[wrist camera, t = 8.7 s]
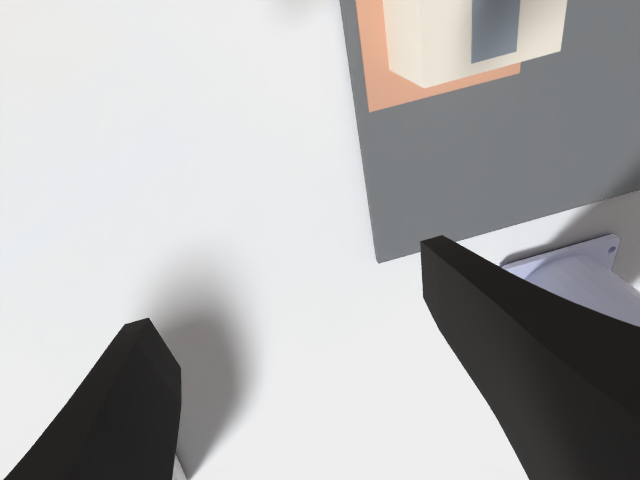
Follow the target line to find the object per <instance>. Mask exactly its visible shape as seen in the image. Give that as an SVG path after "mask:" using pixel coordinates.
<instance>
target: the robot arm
mask: <svg viewBox="0 0 640 480" xmlns="http://www.w3.org/2000/svg"><path fill="white" fill-rule="evenodd" d="M619 244H620V237H619V236H617V235H615V234H610V235H607V236H603V237H600V238H596V239H593V240H589V241H586V242H582V243H579V244H575V245H572V246H568V247H565V248H561V249H558V250H555V251H551V252H548V253H544V254H541V255H537V256H534V257H530V258H527V259H523V260H520V261H516V262H513V263H509V264H506V265H504V266H502V267H499V266H497V265H495V264H493V263H492V262H490V261H488V260H486V259H484V258H483V257H481V256H479V255H477V254H475V253H474V252H472V251H470V250H468V249H467V248H465V247H463V246H461V245H459V244H458V243H456V242H454V241H452V240H451V239H449V238H447V237H445V236H443V235H440V236H437V237H433V238H430V239H426V240H423V241H420V247H421V265H422V283H423V298H424V300H425V302H426V304H427V306H428V308H429V310H430V312H431V315H432V317H433V318H434V320H435V322H436V324H437V326H438V328H439V330H440V332H441V333H442V335H443V336H444V338H445V339H446V341H447V342H448V344H449V346H450V347H451V349H452V350H453V352H454V353H455V355H456V356H457V358H458V359H459V361H460V362H461V364H462V365H463V367H464V368H465V370H466V371H467V373H468V374H469V376H470V377H471V379H472V380H473V382H474V383H475V385H476V386H477V388H478V389H479V391H480V392H481V394H482V395H483V397H484V398H485V400H486V401H487V403H488V404H489V406H490V408H491V409H492V411H493V413H494V414H495V416H496V418H497V419H498V421H499V423H500V425H501V427H502V429H503V431H504V432H505V434H506V436H507V438H508V440H509V442H510V444H511V445H512V447H513V449H514V451H515V453H516V455H517V457H518V459H519V461H520V462H521V464H522V466H523V468H524V470H525V472H526V474H527V476H528V478H529V480H640V292H639V291H638V290H637V289H635V288H634V287H633V286H631V285H630V284H629V283H627V282H626V281H624V280H623V279H622V278H620V277H619V276H618V275H616V274H615V273H614V272H612V271H611V270H612V267H613V264H614V260H615V257H616V254H617V251H618V247H619ZM180 412H181V367H180V366H179V364H178V363H177V361H176V360H175V358H174V356H173V355H172V353H171V352H170V350H169V349H168V347H167V345H166V344H165V342H164V341H163V339H162V338H161V336H160V335H159V333H158V331H157V330H156V328H155V327H154V325H153V324H152V322H151V320H150V319H149V318H146V319H142V320H139V321H135V322H132V323H128V324H125V325H124V326H123V327H122V329H121V330H120V331H119V332H118V334H117V335H116V336H115V338H114V339H113V341H112V342H111V343H110V345H109V346H108V347H107V349H106V350H105V352H104V353H103V354H102V356H101V357H100V358H99V360H98V361H97V363H96V364H95V365H94V367H93V368H92V370H91V371H90V372H89V374H88V375H87V376H86V378H85V379H84V380H83V382H82V383H81V384H80V386H79V387H78V389H77V390H76V391H75V393H74V394H73V395H72V397H71V398H70V399H69V401H68V402H67V403H66V405H65V406H64V407H63V408H62V410H61V411H60V412H59V413H58V415H57V416H56V417H55V418H54V420H53V421H52V422H51V423H50V425H49V426H48V427H47V429H46V430H45V431H44V432H43V434H42V435H41V436H40V437H39V439H38V440H37V441H36V442H35V444H34V445H33V446H32V447H31V449H30V450H29V451H28V452H27V453H26V454H25V456H24V457H23V458H22V459H21V460H20V462H19V463H18V464H17V465H16V466H15V467H14V468H13V470H12V471H11V472H10V473H9V474H8V475H7V476H6V477H5V479H4V480H172V477H173V469H174V461H175V453H176V445H177V438H178V429H179V421H180Z"/></svg>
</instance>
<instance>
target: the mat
mask: <svg viewBox="0 0 640 480" xmlns="http://www.w3.org/2000/svg"><path fill="white" fill-rule="evenodd" d="M340 6H341V14H342V21H343V28H344V35H345V42H346V49H347V56H348V63H349V70H350V77H351V84H352V91H353V98H354V106H355V113H356V120H357V127H358V134H359V141H360V148H361V155H362V162H363V169H364V176H365V183H366V190H367V198H368V205H369V212H370V219H371V226H372V233H373V240H374V247H375V254H376V260H377V262H378V264H379V263H382V262H386V261H389V260H393V259H397V258H400V257H404V256H407V255H411V254H414V253H418V252H421V247H420V241H423V240H426V239H430V238H433V237H437V236H440V235H443V236H445V237H447V238H449V239H451V240H452V241H454V242H457V241H460V240H464V239H467V238H471V237H474V236H478V235H481V234H485V233H488V232H492V231H495V230H499V229H502V228H506V227H510V226H513V225H517V224H520V223H524V222H527V221H531V220H534V219H538V218H541V217H545V216H548V215H552V214H555V213H559V212H563V211H566V210H570V209H573V208H577V207H580V206H584V205H587V204H591V203H594V202H598V201H601V200H605V199H608V198H612V197H616V196H619V195H623V194H626V193H630V192H633V191H637V190H640V0H567V7H566V14H565V21H564V29H563V36H562V43H561V51H559V52H555V53H552V54H548V55H545V56H541V57H537V58H534V59H530V60H526V61H523V62H519V63H515V64H512V65H508V66H504V67H501V68H497V69H493V70H490V71H486V72H483V73H479V74H475V75H472V76H468V77H464V78H461V79H457V80H453V81H450V82H446V83H442V84H439V85H435V86H432V87H428V88H422V87H420V86H418V85H417V84H415V83H413V82H411V81H409V80H407V79H405V78H403V77H402V76H400V75H398V74H396V73H394V72H392V71H390V70H389V61H388V51H387V41H386V31H385V21H384V11H383V0H340Z"/></svg>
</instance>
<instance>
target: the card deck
mask: <svg viewBox="0 0 640 480" xmlns="http://www.w3.org/2000/svg"><path fill="white" fill-rule="evenodd" d="M566 7H567V0H383V11H384V21H385V31H386V41H387V51H388V61H389V70H390V71H392V72H394V73H396V74H398V75H400V76H402V77H403V78H405V79H407V80H409V81H411V82H413V83H415V84H417V85H418V86H420V87H422V88H428V87H432V86H435V85H439V84H442V83H446V82H450V81H453V80H457V79H461V78H464V77H468V76H472V75H475V74H479V73H483V72H486V71H490V70H493V69H497V68H501V67H504V66H508V65H512V64H515V63H519V62H523V61H526V60H530V59H534V58H537V57H541V56H545V55H548V54H552V53H555V52H559V51H561V43H562V36H563V29H564V21H565V14H566Z"/></svg>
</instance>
